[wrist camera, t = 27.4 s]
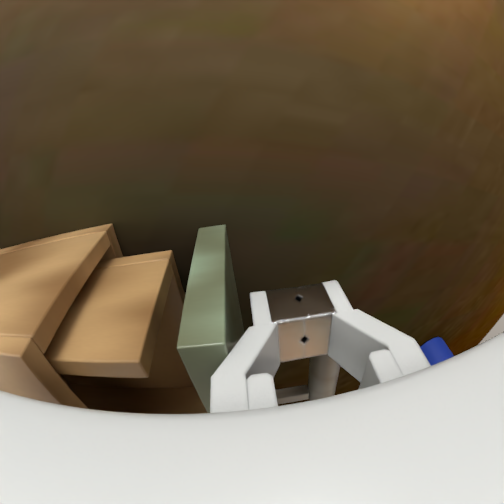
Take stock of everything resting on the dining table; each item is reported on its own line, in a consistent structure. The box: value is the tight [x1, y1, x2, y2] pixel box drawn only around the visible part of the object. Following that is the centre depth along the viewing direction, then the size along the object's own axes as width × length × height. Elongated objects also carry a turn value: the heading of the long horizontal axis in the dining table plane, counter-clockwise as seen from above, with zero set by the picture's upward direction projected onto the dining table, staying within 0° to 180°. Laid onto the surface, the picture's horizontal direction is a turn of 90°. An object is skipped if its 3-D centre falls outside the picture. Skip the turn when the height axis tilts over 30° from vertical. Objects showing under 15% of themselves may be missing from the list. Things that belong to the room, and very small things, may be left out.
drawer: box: [43, 225, 340, 414], centre depth 12 cm, size 19×11×7 cm, turn 96°
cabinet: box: [0, 224, 123, 409], centre depth 12 cm, size 16×13×9 cm
